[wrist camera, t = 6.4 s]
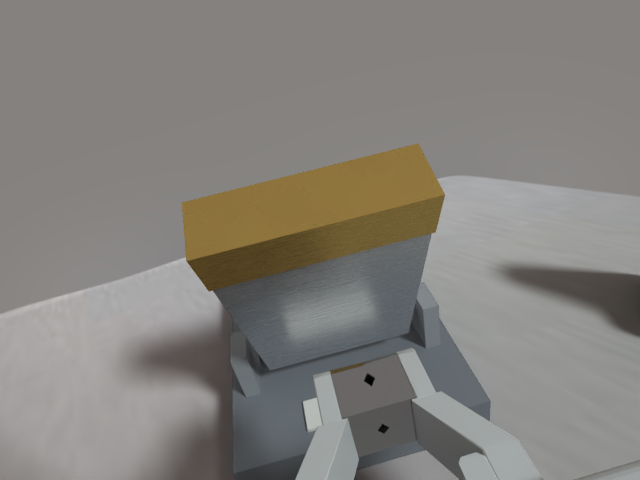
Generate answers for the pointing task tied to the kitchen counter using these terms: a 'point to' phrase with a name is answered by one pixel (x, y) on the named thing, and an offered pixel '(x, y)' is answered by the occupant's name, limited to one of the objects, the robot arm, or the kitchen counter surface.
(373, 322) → the lever
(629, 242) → the kitchen counter surface
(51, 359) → the kitchen counter surface
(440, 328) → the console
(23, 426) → the kitchen counter surface
